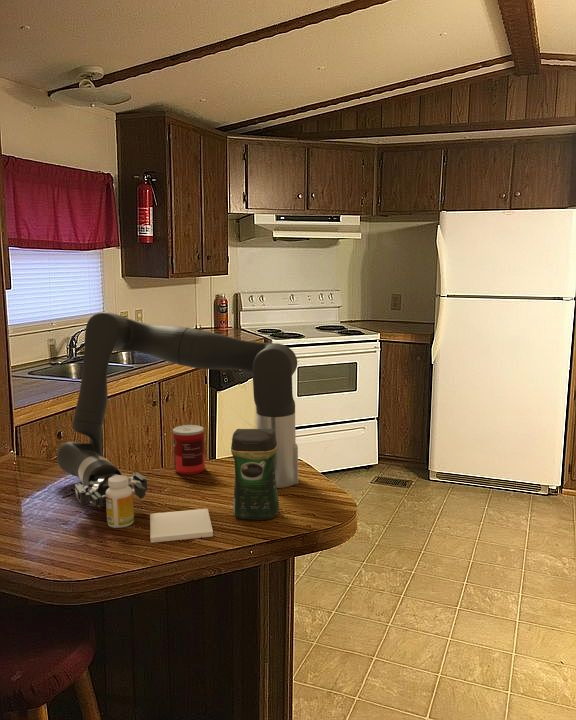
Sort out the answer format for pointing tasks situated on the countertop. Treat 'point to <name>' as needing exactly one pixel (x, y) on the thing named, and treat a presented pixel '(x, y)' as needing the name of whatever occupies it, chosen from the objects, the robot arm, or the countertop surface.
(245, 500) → the coffee jar
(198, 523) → the bay plate
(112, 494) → the supplement bottle
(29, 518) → the countertop surface
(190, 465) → the canned food
